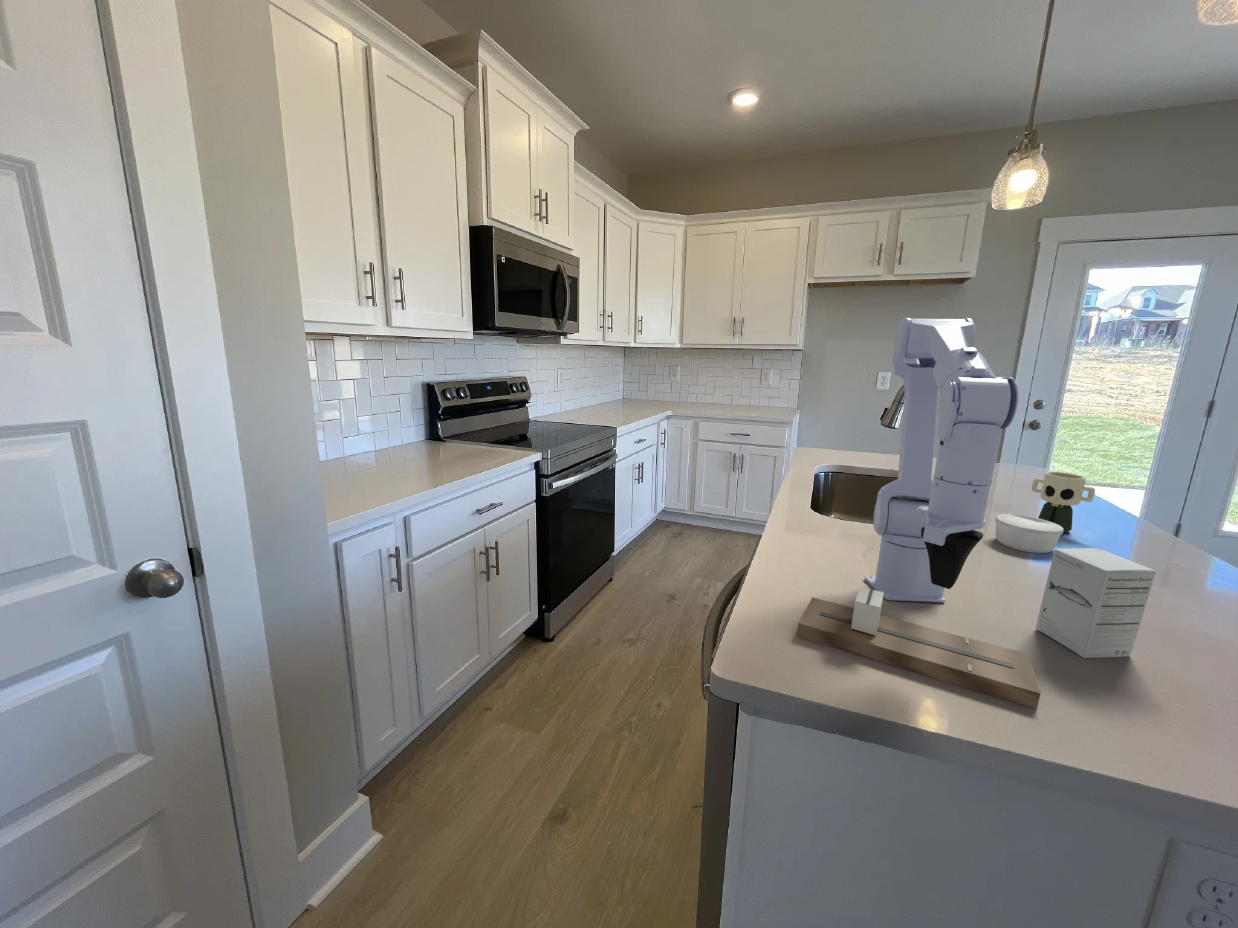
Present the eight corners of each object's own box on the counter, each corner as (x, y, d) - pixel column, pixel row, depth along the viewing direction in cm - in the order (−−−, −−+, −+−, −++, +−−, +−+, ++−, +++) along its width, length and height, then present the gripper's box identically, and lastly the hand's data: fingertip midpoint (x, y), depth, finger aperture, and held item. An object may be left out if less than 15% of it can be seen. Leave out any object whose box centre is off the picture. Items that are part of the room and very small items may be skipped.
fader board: (1025, 667, 64) (1028, 653, 64) (1036, 708, 56) (1040, 692, 56) (810, 609, 77) (812, 596, 77) (797, 636, 70) (798, 622, 69)
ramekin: (1053, 543, 108) (1058, 520, 107) (1063, 560, 99) (1069, 535, 98) (989, 532, 114) (994, 510, 113) (993, 547, 105) (997, 523, 104)
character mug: (1019, 525, 119) (1030, 472, 116) (1028, 520, 123) (1040, 468, 121) (1079, 539, 111) (1093, 482, 108) (1087, 533, 115) (1101, 478, 112)
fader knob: (879, 618, 70) (883, 591, 69) (876, 635, 66) (880, 606, 65) (856, 612, 72) (860, 586, 71) (851, 628, 68) (855, 600, 67)
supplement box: (1032, 629, 73) (1051, 547, 71) (1079, 628, 74) (1100, 547, 71) (1082, 659, 66) (1105, 569, 63) (1133, 658, 67) (1159, 569, 64)
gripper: (943, 465, 68) (927, 559, 71) (902, 481, 58) (885, 589, 61) (1008, 476, 63) (987, 577, 66) (974, 495, 53) (951, 612, 56)
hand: (942, 584), depth 63 cm, fingers closed
